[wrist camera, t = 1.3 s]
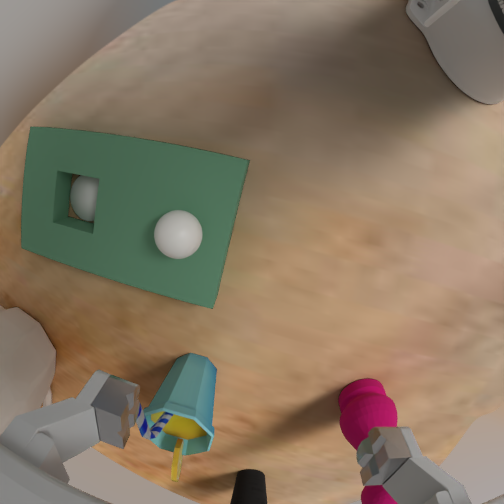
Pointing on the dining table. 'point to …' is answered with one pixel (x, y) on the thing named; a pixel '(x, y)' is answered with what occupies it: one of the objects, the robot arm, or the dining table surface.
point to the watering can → (23, 365)
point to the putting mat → (129, 208)
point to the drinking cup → (249, 488)
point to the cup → (182, 410)
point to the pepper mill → (366, 423)
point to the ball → (178, 234)
